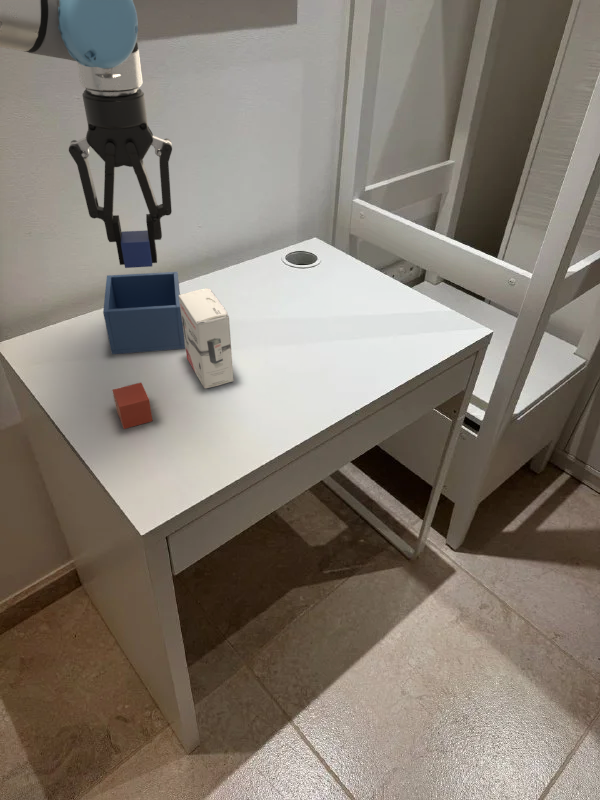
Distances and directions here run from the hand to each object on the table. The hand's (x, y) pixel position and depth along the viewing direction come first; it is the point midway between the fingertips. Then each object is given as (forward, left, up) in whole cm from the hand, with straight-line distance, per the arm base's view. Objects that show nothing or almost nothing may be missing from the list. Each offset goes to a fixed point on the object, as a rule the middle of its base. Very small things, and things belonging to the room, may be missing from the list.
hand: (138, 259), depth 88 cm
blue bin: (0, 0, -13) cm, 13 cm away
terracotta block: (-2, -21, -13) cm, 25 cm away
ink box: (+9, -12, -13) cm, 20 cm away
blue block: (0, 0, 0) cm, 0 cm away
